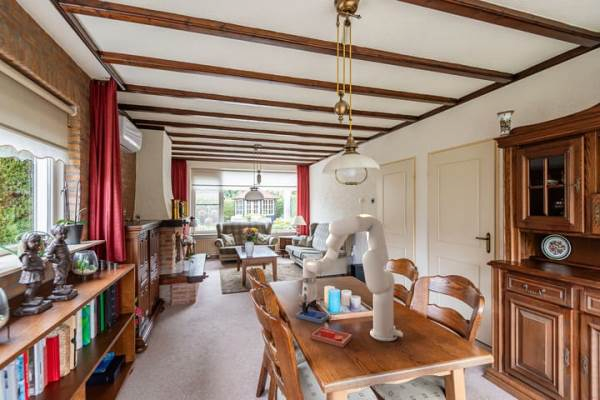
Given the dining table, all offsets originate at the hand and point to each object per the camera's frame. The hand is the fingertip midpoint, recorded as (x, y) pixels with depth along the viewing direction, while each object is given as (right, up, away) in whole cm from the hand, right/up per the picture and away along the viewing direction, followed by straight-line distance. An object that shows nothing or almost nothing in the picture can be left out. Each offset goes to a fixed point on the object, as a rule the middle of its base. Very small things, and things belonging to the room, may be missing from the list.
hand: (309, 310), depth 160 cm
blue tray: (+2, -4, -1) cm, 4 cm away
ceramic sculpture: (0, -4, +20) cm, 21 cm away
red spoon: (+9, -2, -27) cm, 29 cm away
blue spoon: (+1, -3, -1) cm, 3 cm away
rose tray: (+9, -3, -27) cm, 29 cm away
